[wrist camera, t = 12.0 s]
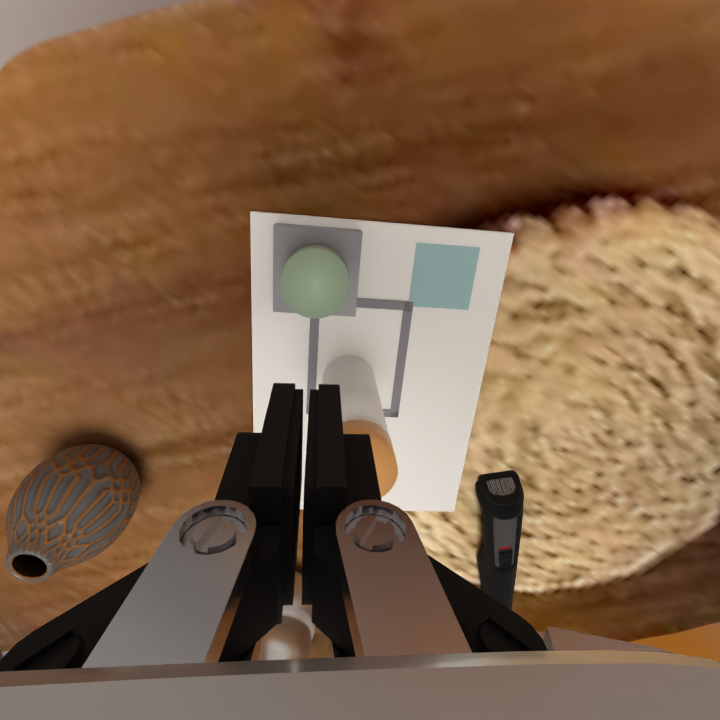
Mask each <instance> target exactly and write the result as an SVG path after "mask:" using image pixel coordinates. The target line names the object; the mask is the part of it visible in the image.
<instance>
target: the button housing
mask: <svg viewBox="0 0 720 720" xmlns="http://www.w3.org/2000/svg"><path fill="white" fill-rule="evenodd" d="M362 233H363V232H362V231H361V230H360V229H348V228H335V227H323V226H311V225H298V224H286V223H275V224H274V225H273V312H285V313H296V312H294V311H293V310H292V309H291V308H290V307H289V306H288V305H287V304H286V302H285V301H284V299H283V297H282V294H281V290H280V277H281V273H282V270H283V268H284V266H285V264H286V262H287V260H288V259H289V257H290V256H291V255H292V254H293V253H294V252H295V251H296V250H297V249H299V248H301V247H303V246H306V245H312V244H318V245H324V246H327V247H329V248H331V249H333V250H334V251H335V252H337V253H338V254H339V255H340V256H341V258H342V259H343V261H344V262H345V265H346V267H347V271H348V276H349V281H350V289H349V294H348V297H347V299H346V301H345V303H344V305H343V306H342V307H341V308H340V309H339V310H338V311H337V312H335V313H334V314H332V315H335V316H352V317H356V305H357V293H358V281H359V269H360V257H361V245H362Z"/></svg>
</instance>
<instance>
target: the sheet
mask: <svg viewBox="0 0 720 720" xmlns="http://www.w3.org/2000/svg"><path fill="white" fill-rule="evenodd" d="M275 223H286V224H298V225H311V226H323V227H335V228H348V229H360V230H361V231H362V232H363V233H362V245H361V257H360V269H359V281H358V293H357V305H356V317H352V316H335V315H330V316H328V317H325V318H319V319H313V318H307V317H304V316H301V315H299V314H297V313H285V312H273V225H274V224H275ZM250 231H251V298H252V365H253V431H254V433H261V432H262V428H263V424H264V420H265V416H266V412H267V407H268V403H269V399H270V395H271V391H272V387H273V383H295V389H303V443H302V486H301V501H300V509H303V505H304V478H305V462H306V446H307V430H308V414H309V398H310V389H317V390H318V386H319V384H323V374H324V371H325V369H326V367H327V366H328V365H329V364H330V363H331V362H332V361H333V360H335V359H337V358H339V357H342V356H356V357H359V358H362V359H363V360H365V361H366V362H367V363H368V364H369V365H370V366H371V367H372V369H373V372H374V375H375V380H376V384H377V388H378V392H379V396H380V400H381V404H382V409H383V413H384V417H385V421H386V425H387V429H388V433H389V437H390V439H391V442H392V446H393V450H394V454H395V458H396V462H397V466H398V475H397V479H396V482H395V484H394V486H393V487H392V489H391V490H390V491H389V492H388V493H387V494H386V495H384V496H383V497H382V498H381V500H382V501H385V502H389V503H391V504H393V505H395V506H397V507H399V508H400V509H401V510H403V511H454V508H455V504H456V499H457V494H458V490H459V485H460V481H461V476H462V471H463V467H464V462H465V458H466V453H467V448H468V444H469V439H470V434H471V430H472V425H473V421H474V416H475V411H476V407H477V402H478V398H479V393H480V388H481V384H482V379H483V375H484V370H485V365H486V361H487V356H488V351H489V347H490V342H491V338H492V333H493V328H494V324H495V319H496V315H497V310H498V305H499V301H500V296H501V291H502V287H503V282H504V278H505V273H506V268H507V264H508V259H509V255H510V250H511V245H512V241H513V236H514V233H511V232H500V231H488V230H476V229H464V228H452V227H440V226H428V225H416V224H404V223H392V222H379V221H367V220H355V219H343V218H331V217H319V216H307V215H295V214H283V213H271V212H259V211H251V212H250Z"/></svg>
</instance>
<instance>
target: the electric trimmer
mask: <svg viewBox="0 0 720 720" xmlns="http://www.w3.org/2000/svg"><path fill="white" fill-rule="evenodd" d="M476 492H477V497H478V500H479V502H480V505H481V507H482V510H483V524H484V544H483V550H482V551H481V552H480V553H479V554H478V566H479V573H480V579H481V585H482V591H483V592H485V593H486V594H488V595H489V596H491V597H492V598H494V599H495V600H497V601H498V602H500V603H501V604H503V605H504V606H506V607H507V608H509V609H510V610H511V609H512V602H513V594H514V586H515V578H516V570H517V562H518V553H519V545H520V536H521V527H522V518H523V500H524V493H523V489H522V486H521V483H520V479H519V476H518V475H517V473H516V472H514V471H504V472H497V473H490V474H483V475H481V476H480V477H479V481H478V482H476ZM496 557H497V558H496Z"/></svg>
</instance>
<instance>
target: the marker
mask: <svg viewBox="0 0 720 720" xmlns="http://www.w3.org/2000/svg"><path fill="white" fill-rule="evenodd" d="M323 384H337V385H340V397H341V410H342V423H343V434H369V435H370V439H371V445H372V450H373V456H374V461H375V467H376V472H377V478H378V483H379V489H380V494H381V498H382V497H383V496H384V495H386V494H387V493H388V492H389V491H390V490H391V489H392V487H393V486H394V484H395V482H396V479H397V475H398V466H397V462H396V458H395V454H394V450H393V446H392V442H391V439H390V437H389V433H388V429H387V425H386V421H385V417H384V413H383V409H382V404H381V400H380V396H379V392H378V388H377V384H376V380H375V375H374V372H373V369H372V367H371V366H370V365H369V364H368V363H367V362H366V361H365V360H363V359H362V358H359V357H356V356H342V357H339V358H337V359H335V360H333V361H332V362H331V363H330V364H329V365H328V366H327V367H326V369H325V371H324V374H323Z"/></svg>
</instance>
